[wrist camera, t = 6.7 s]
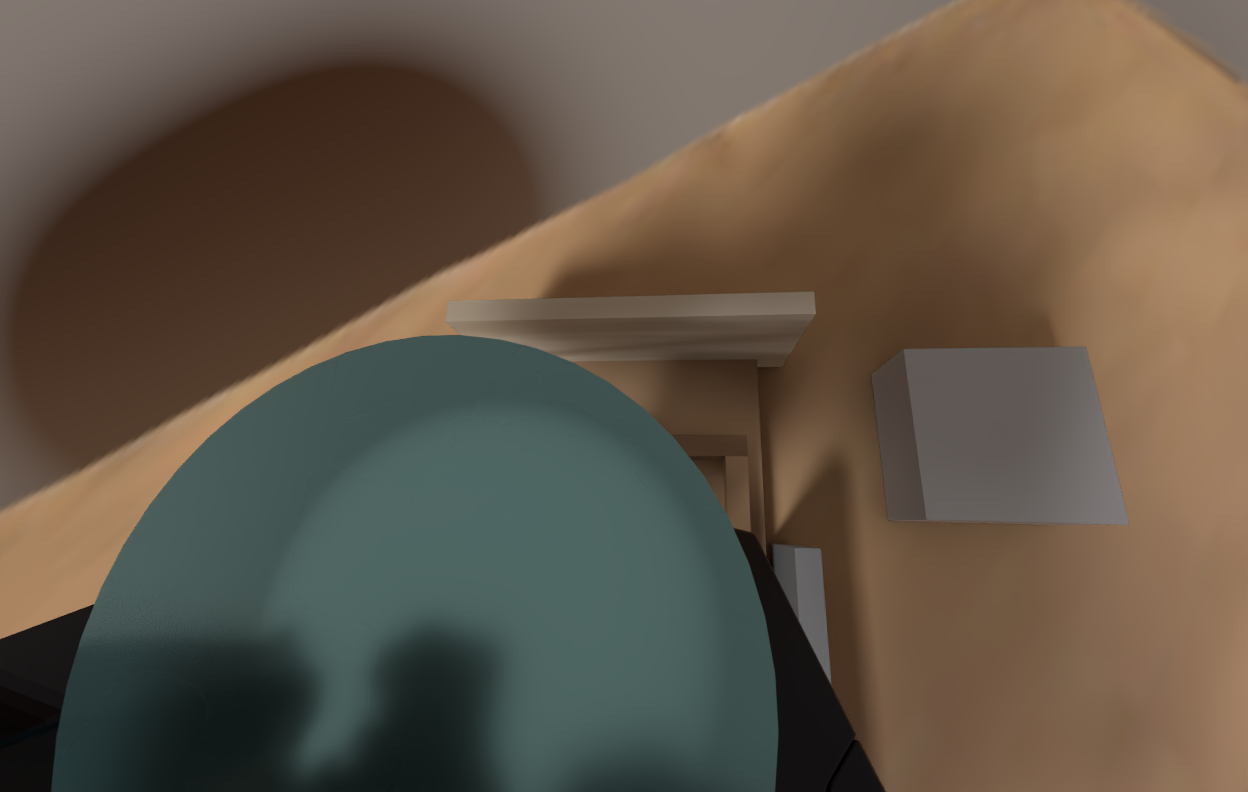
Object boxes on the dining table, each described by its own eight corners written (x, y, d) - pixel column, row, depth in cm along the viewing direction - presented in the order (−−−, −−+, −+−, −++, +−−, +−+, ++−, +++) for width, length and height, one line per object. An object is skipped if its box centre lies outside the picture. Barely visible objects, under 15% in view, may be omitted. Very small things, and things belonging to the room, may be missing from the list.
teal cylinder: (729, 638, 12) (931, 1060, 2) (542, 698, 12) (26, 1335, 3) (665, 451, 13) (635, 254, 4) (499, 506, 14) (68, 447, 4)
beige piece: (801, 685, 17) (853, 752, 12) (469, 664, 19) (390, 715, 14) (780, 349, 21) (814, 291, 16) (501, 352, 22) (448, 301, 17)
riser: (1057, 525, 18) (1129, 524, 15) (888, 520, 19) (926, 519, 16) (1025, 373, 19) (1085, 346, 17) (871, 374, 20) (903, 348, 17)
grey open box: (818, 967, 15) (864, 1115, 11) (445, 919, 17) (376, 1035, 13) (791, 544, 19) (821, 548, 15) (484, 534, 20) (439, 536, 16)
